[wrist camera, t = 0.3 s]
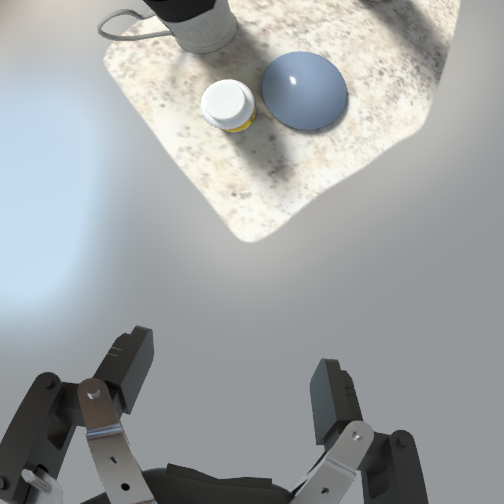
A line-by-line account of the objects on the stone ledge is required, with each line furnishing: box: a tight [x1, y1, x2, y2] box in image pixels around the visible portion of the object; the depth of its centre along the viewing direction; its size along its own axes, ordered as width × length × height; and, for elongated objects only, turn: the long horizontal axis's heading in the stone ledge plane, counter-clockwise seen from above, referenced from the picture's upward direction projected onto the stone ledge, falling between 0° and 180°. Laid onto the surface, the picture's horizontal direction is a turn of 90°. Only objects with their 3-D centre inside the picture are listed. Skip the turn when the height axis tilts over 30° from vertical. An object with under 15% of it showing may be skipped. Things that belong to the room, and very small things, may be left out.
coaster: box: [262, 52, 347, 130], centre depth 29 cm, size 11×11×1 cm
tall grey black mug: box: [97, 0, 237, 54], centre depth 20 cm, size 9×14×15 cm, turn 110°
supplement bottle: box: [201, 79, 256, 133], centre depth 27 cm, size 6×6×10 cm
